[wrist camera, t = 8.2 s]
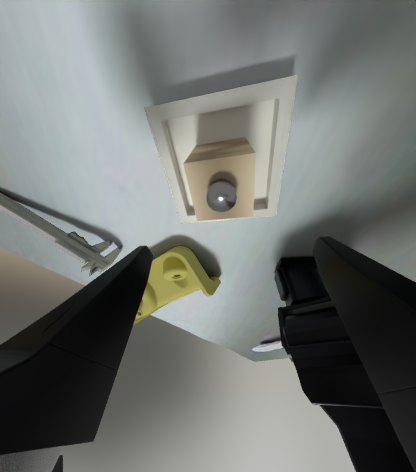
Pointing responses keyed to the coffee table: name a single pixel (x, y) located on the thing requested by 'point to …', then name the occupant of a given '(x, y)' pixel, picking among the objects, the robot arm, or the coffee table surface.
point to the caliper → (63, 237)
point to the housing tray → (227, 136)
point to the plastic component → (174, 280)
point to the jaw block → (222, 179)
